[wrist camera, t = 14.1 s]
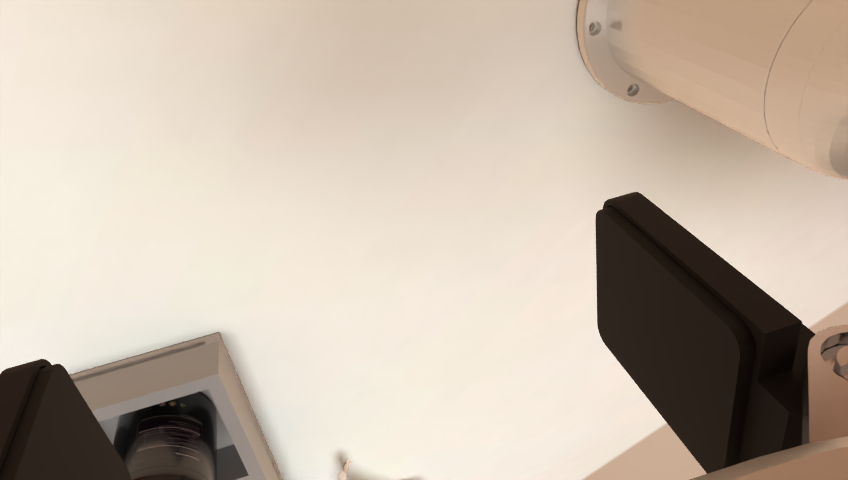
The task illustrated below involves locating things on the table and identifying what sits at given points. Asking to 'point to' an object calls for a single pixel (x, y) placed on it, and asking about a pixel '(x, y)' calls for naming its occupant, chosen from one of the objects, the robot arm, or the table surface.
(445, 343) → the table surface
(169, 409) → the supplement bottle
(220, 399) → the divided tray
